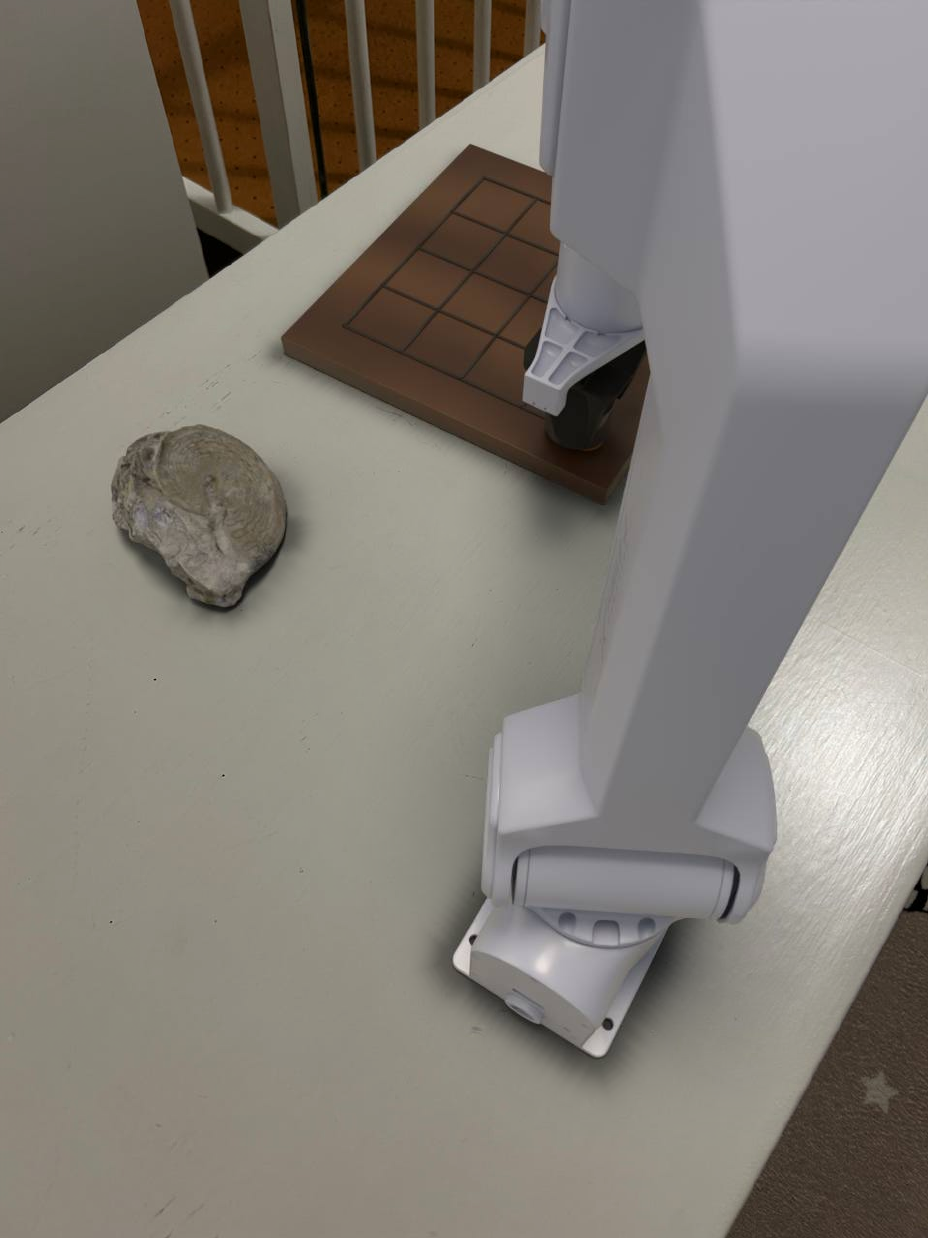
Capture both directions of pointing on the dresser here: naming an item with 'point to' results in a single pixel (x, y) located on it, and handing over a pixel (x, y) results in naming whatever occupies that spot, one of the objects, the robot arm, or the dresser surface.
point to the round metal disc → (598, 437)
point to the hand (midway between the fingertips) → (589, 414)
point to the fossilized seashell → (201, 508)
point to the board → (463, 320)
